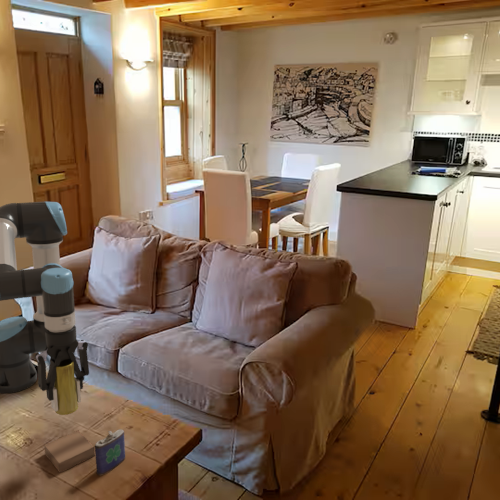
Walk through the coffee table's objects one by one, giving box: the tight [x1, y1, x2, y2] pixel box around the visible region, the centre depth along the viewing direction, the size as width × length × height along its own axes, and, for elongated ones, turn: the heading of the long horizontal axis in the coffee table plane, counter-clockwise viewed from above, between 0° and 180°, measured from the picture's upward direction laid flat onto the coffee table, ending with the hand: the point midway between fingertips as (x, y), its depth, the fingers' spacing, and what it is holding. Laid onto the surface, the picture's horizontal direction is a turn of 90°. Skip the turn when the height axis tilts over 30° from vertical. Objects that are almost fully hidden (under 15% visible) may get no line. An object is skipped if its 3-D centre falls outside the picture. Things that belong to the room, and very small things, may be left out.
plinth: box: [43, 430, 96, 473], centre depth 134 cm, size 10×10×3 cm
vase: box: [54, 359, 79, 416], centre depth 129 cm, size 6×6×14 cm
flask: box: [94, 429, 126, 476], centre depth 130 cm, size 9×3×11 cm, turn 144°
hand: (66, 404), depth 130 cm, fingers closed on vase, 6 cm apart
